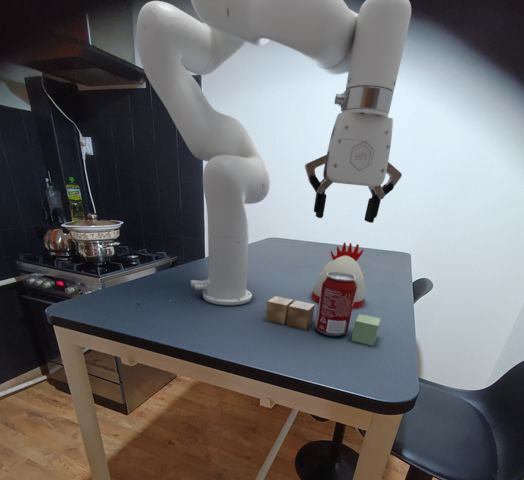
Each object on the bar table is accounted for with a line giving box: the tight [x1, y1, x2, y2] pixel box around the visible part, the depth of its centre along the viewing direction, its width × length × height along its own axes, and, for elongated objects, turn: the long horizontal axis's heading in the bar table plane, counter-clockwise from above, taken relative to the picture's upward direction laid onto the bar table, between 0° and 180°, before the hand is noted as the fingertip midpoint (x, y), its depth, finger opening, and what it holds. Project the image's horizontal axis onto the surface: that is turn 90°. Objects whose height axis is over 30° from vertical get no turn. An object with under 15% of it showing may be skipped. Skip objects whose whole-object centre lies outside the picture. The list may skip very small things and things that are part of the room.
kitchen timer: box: [311, 241, 366, 309], centre depth 83 cm, size 14×14×15 cm
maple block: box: [265, 295, 294, 325], centre depth 71 cm, size 4×4×4 cm
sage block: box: [350, 313, 382, 347], centre depth 64 cm, size 4×4×4 cm
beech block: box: [286, 299, 316, 330], centre depth 69 cm, size 4×4×4 cm
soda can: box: [314, 272, 357, 337], centre depth 65 cm, size 7×7×12 cm
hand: (343, 219), depth 60 cm, fingers open, 9 cm apart
